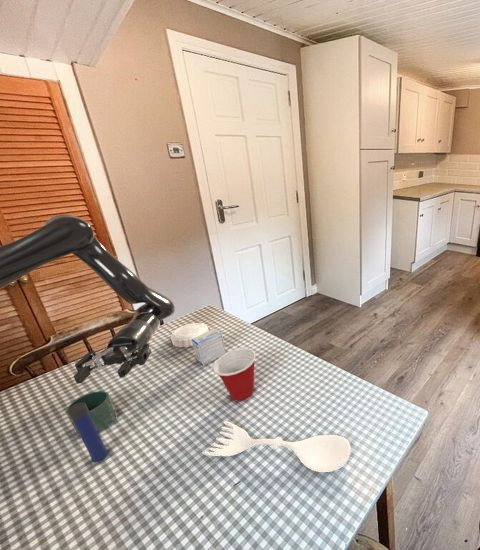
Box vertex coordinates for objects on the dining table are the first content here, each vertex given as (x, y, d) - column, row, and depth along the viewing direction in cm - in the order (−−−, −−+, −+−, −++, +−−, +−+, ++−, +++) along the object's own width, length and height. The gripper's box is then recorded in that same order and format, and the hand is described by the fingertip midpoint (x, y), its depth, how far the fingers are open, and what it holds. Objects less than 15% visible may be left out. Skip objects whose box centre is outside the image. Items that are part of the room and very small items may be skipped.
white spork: (226, 428, 75) (223, 418, 73) (354, 442, 71) (353, 431, 70) (203, 463, 66) (200, 452, 65) (347, 480, 63) (346, 469, 61)
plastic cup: (221, 387, 88) (212, 353, 83) (260, 376, 92) (254, 343, 87) (220, 414, 79) (211, 377, 74) (263, 401, 83) (257, 366, 78)
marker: (90, 465, 66) (63, 414, 60) (97, 454, 68) (73, 403, 63) (105, 462, 67) (80, 411, 61) (111, 451, 69) (88, 401, 63)
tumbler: (68, 440, 72) (57, 418, 69) (88, 414, 79) (79, 394, 76) (107, 433, 73) (97, 412, 71) (123, 409, 81) (115, 388, 78)
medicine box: (219, 349, 105) (214, 327, 102) (226, 353, 102) (222, 332, 99) (196, 361, 99) (190, 338, 96) (203, 366, 96) (197, 343, 93)
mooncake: (194, 327, 118) (192, 319, 117) (216, 333, 114) (214, 325, 113) (164, 343, 108) (162, 335, 107) (188, 351, 104) (185, 342, 102)
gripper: (98, 330, 81) (56, 369, 67) (157, 323, 84) (129, 359, 70) (107, 353, 84) (68, 395, 70) (164, 346, 87) (138, 385, 73)
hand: (99, 377), depth 70 cm, fingers open, 8 cm apart
